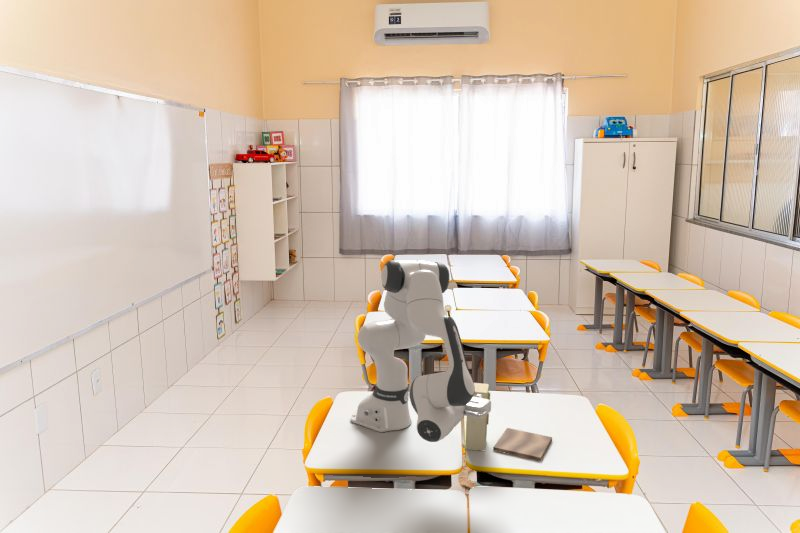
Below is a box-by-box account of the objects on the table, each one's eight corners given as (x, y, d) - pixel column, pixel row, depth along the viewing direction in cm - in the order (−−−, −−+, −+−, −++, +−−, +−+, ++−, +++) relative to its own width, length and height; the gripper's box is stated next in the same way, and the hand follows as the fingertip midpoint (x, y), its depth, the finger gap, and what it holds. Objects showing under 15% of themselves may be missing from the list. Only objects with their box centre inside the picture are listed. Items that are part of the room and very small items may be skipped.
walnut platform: (493, 450, 212) (493, 447, 211) (507, 430, 226) (507, 427, 226) (540, 461, 205) (540, 457, 205) (551, 440, 219) (552, 437, 219)
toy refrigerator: (487, 451, 211) (489, 392, 206) (465, 449, 212) (466, 390, 208) (488, 441, 218) (490, 383, 214) (467, 438, 220) (469, 382, 215)
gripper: (483, 406, 182) (498, 389, 194) (418, 394, 190) (436, 379, 203) (483, 426, 183) (497, 409, 195) (418, 413, 192) (436, 397, 204)
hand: (465, 393), depth 199 cm, fingers open, 8 cm apart
